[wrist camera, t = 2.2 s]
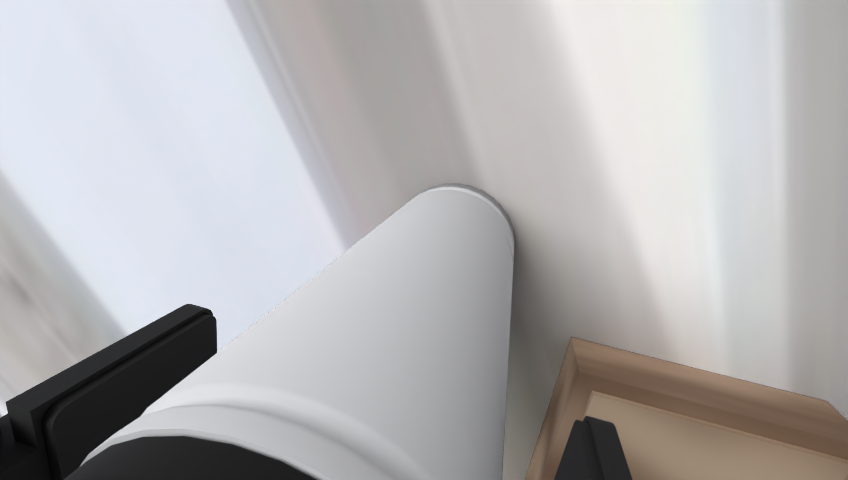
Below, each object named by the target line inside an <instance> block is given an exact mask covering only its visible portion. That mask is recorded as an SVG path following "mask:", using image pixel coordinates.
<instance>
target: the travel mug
mask: <svg viewBox="0 0 848 480" xmlns="http://www.w3.org/2000/svg"><path fill="white" fill-rule="evenodd" d="M513 264H514V233H513V228H512V225H511V223H510V220H509V218H508V216H507V214H506V213H505V211H504V210H503V208H502V207H501V206H500V205H499V204H498V203H497V202H496V201H495V200H494V199H493V198H492V197H491V196H489V195H488V194H486V193H485V192H483V191H482V190H479V189H477V188H474V187H472V186H468V185H463V184H442V185H437V186H434V187H431V188H429V189H427V190H424V191H423V192H421V193H420V194H419V195H417V196H416V197H414V198H413V199H412V200H410V201H409V202H408V203H407V204H405V205H404V206H403V207H402V208H400V209H399V210H398V211H397V212H395V213H394V214H393V215H391V216H390V217H389V218H388V219H386V220H385V221H384V222H383V223H381V224H380V225H379V226H377V227H376V228H375V229H374V230H372V231H371V232H370V233H369V234H367V235H366V236H365V237H364V238H362V239H361V240H360V241H358V242H357V243H356V244H355V245H353V246H352V247H351V248H350V249H348V250H347V251H346V252H344V253H343V254H342V255H341V256H339V257H338V258H337V259H336V260H334V261H333V262H332V263H331V264H329V265H328V266H327V267H325V268H324V269H323V270H322V271H320V272H319V273H318V274H317V275H315V276H314V277H313V278H311V279H310V280H309V281H308V282H306V283H305V284H304V285H303V286H301V287H300V288H299V289H297V290H296V291H295V292H294V293H292V294H291V295H290V296H289V297H287V298H286V299H285V300H284V301H282V302H281V303H280V304H278V305H277V306H276V307H275V308H273V309H272V310H271V311H270V312H268V313H267V314H266V315H264V316H263V317H262V318H261V319H259V320H258V321H257V322H256V323H254V324H253V325H252V326H251V327H249V328H248V329H247V330H245V331H244V332H243V333H242V334H240V335H239V336H238V337H237V338H235V339H234V340H233V341H231V342H230V343H229V344H228V345H226V346H225V347H224V348H223V349H221V350H220V351H219V352H218V353H216V354H215V355H214V356H212V357H211V358H210V359H209V360H207V361H206V362H205V363H204V364H202V365H201V366H200V367H198V368H197V369H196V370H195V371H193V372H192V373H191V374H190V375H188V376H187V377H186V378H185V379H183V380H182V381H181V382H179V383H178V384H177V385H176V386H174V387H173V388H172V389H171V390H169V391H168V392H167V393H165V394H164V395H163V396H162V397H160V398H159V399H158V400H157V401H155V402H154V403H153V404H151V405H150V406H149V407H148V408H147V409H146V410H145V411H144V413H143V414H142V415H141V416H140V417H139V418H137V419H136V420H134V421H133V422H131V423H130V424H128V425H127V426H125V427H124V428H122V429H121V430H119V431H118V432H116V433H115V434H113V435H112V436H111V437H110V438H108V439H107V440H106V441H105V442H103V443H102V444H101V445H99V446H98V447H97V448H96V449H94V450H93V451H92V452H91V453H89V454H88V456H87V457H86V458H85V460H84V461H83V462H82V464H81V465H80V467H79V468H78V469H76V470H75V471H74V472H73V473H71V474H70V475H69V476H68V477H66V478H65V479H64V480H502V471H503V452H504V433H505V415H506V396H507V377H508V358H509V339H510V320H511V301H512V282H513Z"/></svg>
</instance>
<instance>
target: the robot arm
mask: <svg viewBox="0 0 848 480" xmlns="http://www.w3.org/2000/svg"><path fill="white" fill-rule="evenodd" d="M216 353H217V327H216V319H215V317H213V313H212V312H211V310H209V309H207V308H203V307H200V306H196V305H192V304H186V305H184V306H182V307H180V308H178V309H176V310H174V311H173V312H171V313H169V314H167V315H165V316H163V317H162V318H160V319H158V320H156V321H154V322H152V323H150V324H149V325H147V326H145V327H143V328H141V329H139V330H138V331H136V332H134V333H132V334H130V335H128V336H127V337H125V338H123V339H121V340H119V341H117V342H116V343H114V344H112V345H110V346H108V347H106V348H105V349H103V350H101V351H99V352H97V353H95V354H93V355H92V356H90V357H88V358H86V359H84V360H82V361H81V362H79V363H77V364H75V365H73V366H71V367H70V368H68V369H66V370H64V371H62V372H60V373H59V374H57V375H55V376H53V377H51V378H49V379H47V380H46V381H44V382H42V383H40V384H38V385H36V386H35V387H33V388H31V389H29V390H27V391H25V392H24V393H22V394H20V395H18V396H16V397H14V398H13V399H11V400H9V401H7V402H6V406H7V410H8V414H6V415H5V416H3V417H1V418H0V480H64V479H65V478H66V477H68V476H69V475H70V474H71V473H73V472H74V471H75V470H76V469H78V468H79V467H80V465H81V464H82V462H83V461H84V460H85V458H86V457H87V456H88V454H89V453H91V452H92V451H93V450H94V449H96V448H97V447H98V446H99V445H101V444H102V443H103V442H105V441H106V440H107V439H108V438H110V437H111V436H112V435H113V434H115V433H116V432H118V431H119V430H121V429H122V428H124V427H125V426H127V425H128V424H130V423H131V422H133V421H134V420H136V419H137V418H139V417H140V416H141V415H142V414H143V413H144V411H145V410H146V409H147V408H148V407H149V406H150V405H151V404H153V403H154V402H155V401H157V400H158V399H159V398H160V397H162V396H163V395H164V394H165V393H167V392H168V391H169V390H171V389H172V388H173V387H174V386H176V385H177V384H178V383H179V382H181V381H182V380H183V379H185V378H186V377H187V376H188V375H190V374H191V373H192V372H193V371H195V370H196V369H197V368H198V367H200V366H201V365H202V364H204V363H205V362H206V361H207V360H209V359H210V358H211V357H212V356H214V355H215V354H216ZM554 480H632V476H631V473H630V470H629V467H628V464H627V461H626V458H625V455H624V452H623V448H622V445H621V442H620V439H619V436H618V433H617V430H616V427H615V425H614V424H613V423H612V422H608V421H604V420H601V419H597V418H594V417H590V416H585V418H584V419H583V421H580V420H575V422H574V424H573V427H572V429H571V432H570V435H569V438H568V441H567V444H566V447H565V449H564V452H563V455H562V458H561V461H560V464H559V467H558V469H557V472H556V475H555V478H554Z"/></svg>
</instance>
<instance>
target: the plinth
mask: <svg viewBox="0 0 848 480" xmlns="http://www.w3.org/2000/svg"><path fill="white" fill-rule="evenodd" d="M585 416H590V417H594V418H597V419H601V420H604V421H608V422H612V423H613V424H614V425H615V427H616V430H617V433H618V436H619V439H620V442H621V445H622V448H623V452H624V455H625V458H626V461H627V464H628V467H629V470H630V473H631V476H632V480H848V420H847V419H845V418H844V417H843V416H842V415H841V414H840V413H839V412H838V411H837V410H836V409H835V408H834V407H833V406H832V405H831V404H830V403H828V402H827V401H823V400H819V399H815V398H811V397H807V396H803V395H799V394H795V393H792V392H788V391H784V390H780V389H776V388H772V387H768V386H764V385H760V384H756V383H752V382H748V381H744V380H740V379H736V378H732V377H728V376H724V375H720V374H716V373H712V372H708V371H704V370H700V369H696V368H692V367H688V366H684V365H680V364H676V363H672V362H668V361H664V360H660V359H656V358H652V357H648V356H644V355H640V354H636V353H632V352H628V351H624V350H620V349H616V348H612V347H609V346H605V345H601V344H597V343H593V342H589V341H585V340H581V339H577V338H573V337H571V340H570V343H569V346H568V349H567V352H566V356H565V359H564V362H563V365H562V368H561V371H560V374H559V377H558V380H557V383H556V386H555V389H554V392H553V395H552V398H551V401H550V404H549V407H548V410H547V413H546V417H545V420H544V423H543V426H542V429H541V432H540V435H539V438H538V441H537V444H536V447H535V450H534V453H533V456H532V459H531V462H530V465H529V468H528V471H527V474H526V478H525V480H554V478H555V475H556V472H557V469H558V467H559V464H560V461H561V458H562V455H563V452H564V449H565V447H566V444H567V441H568V438H569V435H570V432H571V429H572V427H573V424H574V422H575V420H580V421H583V419H584V418H585Z"/></svg>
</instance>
